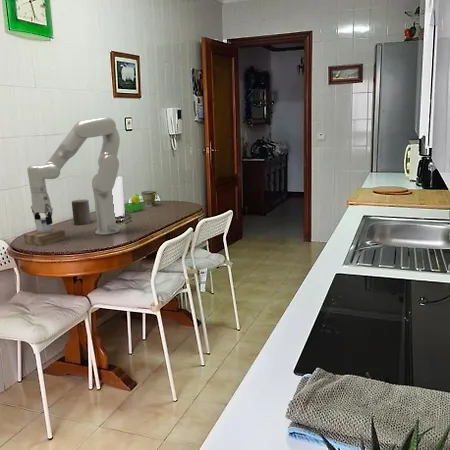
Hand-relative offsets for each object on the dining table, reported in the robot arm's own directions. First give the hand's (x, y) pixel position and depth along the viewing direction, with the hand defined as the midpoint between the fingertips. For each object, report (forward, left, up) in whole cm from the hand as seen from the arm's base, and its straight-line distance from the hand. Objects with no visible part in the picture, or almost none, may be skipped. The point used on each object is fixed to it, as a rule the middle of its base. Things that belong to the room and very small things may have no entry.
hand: (43, 223), depth 251 cm
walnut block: (0, 0, -10) cm, 10 cm away
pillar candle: (+18, -37, -9) cm, 42 cm away
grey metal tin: (0, 0, -5) cm, 5 cm away
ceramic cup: (+18, -94, -9) cm, 96 cm away
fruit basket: (+16, -77, -9) cm, 79 cm away
